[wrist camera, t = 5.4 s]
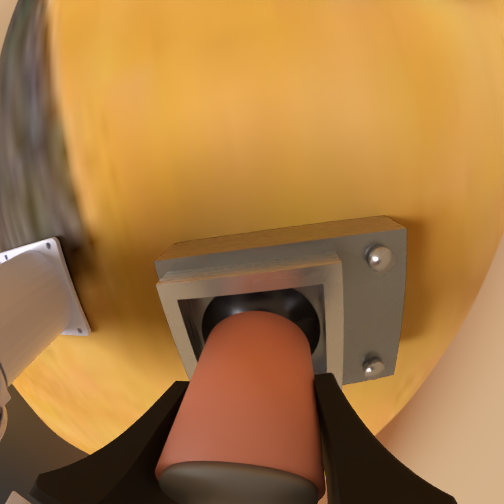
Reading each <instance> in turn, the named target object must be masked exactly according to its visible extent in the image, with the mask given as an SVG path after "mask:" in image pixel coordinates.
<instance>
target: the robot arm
mask: <svg viewBox="0 0 504 504" xmlns="http://www.w3.org/2000/svg"><path fill="white" fill-rule="evenodd" d="M50 245H51V246H50ZM0 262H1V264H0V441H1V439H2V437H3V435H4V432H5V429H6V425H7V412H6V408H5V404H6V403H7V402H8V401H9V400H10V399H11V396H10V395H9V393H8V391H7V389H6V388H7V387H8V386H9V385H10V384H11V383H12V382H13V381H14V380H15V379H16V378H17V377H18V376H19V375H20V374H21V373H22V372H23V370H24V369H25V368H26V367H27V366H28V365H29V364H30V363H31V362H32V361H33V360H34V359H35V358H36V357H37V356H38V355H39V354H40V353H41V352H42V351H43V350H44V349H45V348H46V347H47V346H48V345H49V344H50V343H51V342H52V341H54V340H55V339H56V338H57V337H58V336H59V335H60V334H62V335H78V336H88V335H89V334H90V333H91V329H90V326H89V324H88V322H87V319H86V317H85V315H84V312H83V310H82V307H81V305H80V302H79V300H78V297H77V294H76V292H75V289H74V286H73V283H72V280H71V278H70V275H69V272H68V269H67V266H66V262H65V259H64V256H63V253H62V249H61V246H60V242H59V240H58V239H57V238H56V237H52V238H48V239H45V240H41V241H38V242H34V243H31V244H27V245H24V246H21V247H18V248H14V249H11V250H8V251H5V252H2V253H0ZM189 383H190V381H175V382H174V383H173V384H172V386H171V387H170V388H169V389H168V390H167V391H166V392H165V393H164V394H163V395H162V396H161V397H160V398H159V399H158V400H157V401H156V402H155V403H154V404H153V406H152V407H151V408H150V409H149V410H148V411H147V412H146V413H145V414H144V415H143V416H142V417H140V418H139V419H138V420H137V421H136V422H135V423H134V424H133V425H132V426H130V427H129V428H128V429H127V430H126V431H125V432H124V433H122V434H121V435H120V436H118V437H117V438H116V439H114V440H113V441H112V442H110V443H109V444H107V445H106V446H104V447H103V448H101V449H100V450H98V451H96V452H94V453H93V454H91V455H89V456H87V457H86V458H84V459H81V460H79V461H77V462H75V463H73V464H70V465H68V466H65V467H62V468H60V469H56V470H53V471H50V472H46V473H43V474H39V476H38V478H37V479H36V481H35V483H34V485H33V486H32V488H31V490H30V491H29V493H28V495H29V497H30V498H31V499H33V500H34V501H36V502H37V503H39V504H179V503H177V502H176V501H174V500H173V499H171V498H170V497H168V496H167V495H166V494H165V493H164V492H163V491H162V489H161V488H160V486H159V481H158V480H157V478H156V476H155V469H156V466H157V464H158V461H159V458H160V456H161V453H162V451H163V448H164V446H165V443H166V441H167V438H168V436H169V433H170V431H171V428H172V426H173V423H174V421H175V418H176V416H177V413H178V411H179V408H180V406H181V403H182V401H183V398H184V396H185V393H186V391H187V388H188V386H189ZM314 383H315V391H316V399H317V406H318V413H319V422H320V431H321V441H322V452H323V463H324V471H325V476H326V484H327V496H328V497H327V498H328V504H457V502H456V500H455V498H454V497H453V496H451V495H449V494H447V493H445V492H443V491H441V490H440V489H438V488H436V487H434V486H433V485H431V484H429V483H428V482H426V481H425V480H423V479H422V478H421V477H419V476H418V475H416V474H415V473H414V472H412V471H411V470H410V469H409V468H407V467H406V466H405V465H404V464H402V463H401V462H400V461H399V460H397V459H396V458H395V457H394V456H393V455H392V454H391V453H390V452H389V451H388V450H387V449H386V448H385V447H384V446H383V445H382V444H381V443H380V442H379V441H378V440H377V439H376V438H375V436H374V435H373V434H372V433H371V432H370V430H369V429H368V428H367V427H366V426H365V424H364V423H363V422H362V420H361V419H360V418H359V416H358V415H357V414H356V412H355V411H354V409H353V408H352V406H351V405H350V403H349V402H348V400H347V399H346V397H345V395H344V394H343V392H342V390H341V388H340V387H339V385H338V383H337V381H336V379H335V376H334V374H333V373H331V372H330V373H323V374H316V375H314ZM5 504H31V503H29V502H28V501H27V500H25V499H24V498H23V497H21V496H20V495H19V494H18V493H16V492H15V491H13V492H12V493H11V495H10V497H9V498H8V500H7V502H6V503H5Z"/></svg>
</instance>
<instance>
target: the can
mask: <svg viewBox="0 0 504 504" xmlns="http://www.w3.org/2000/svg"><path fill="white" fill-rule="evenodd" d="M155 476H156V478H157V480H158V481H159V486H160V488H161V489H162V491H163V492H164V493H165V494H166V495H167V496H168V497H170V498H171V499H173V500H174V501H176V502H177V503H179V504H317V503H318V501H319V500H320V499H321V498H322V497H323V496H324V494H325V490H326V489H325V475H324V463H323V452H322V441H321V431H320V422H319V413H318V406H317V399H316V391H315V383H314V373H313V365H312V358H311V351H310V346H309V342H308V340H307V337H306V336H305V334H304V333H303V331H302V330H301V329H300V328H299V327H298V326H297V325H296V324H295V323H293V322H292V321H290V320H289V319H287V318H285V317H283V316H280V315H278V314H274V313H271V312H265V311H246V312H240V313H237V314H234V315H231V316H229V317H227V318H225V319H223V320H222V321H220V322H219V323H218V324H217V325H216V326H215V327H214V328H213V329H212V331H211V332H210V334H209V336H208V339H207V341H206V344H205V346H204V349H203V351H202V353H201V356H200V358H199V361H198V363H197V366H196V368H195V371H194V373H193V376H192V378H191V381H190V383H189V386H188V388H187V391H186V393H185V396H184V398H183V401H182V403H181V406H180V408H179V411H178V413H177V416H176V418H175V421H174V423H173V426H172V428H171V431H170V433H169V436H168V438H167V441H166V443H165V446H164V448H163V451H162V453H161V456H160V458H159V461H158V464H157V466H156V469H155Z"/></svg>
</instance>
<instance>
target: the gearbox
mask: <svg viewBox="0 0 504 504" xmlns="http://www.w3.org/2000/svg"><path fill="white" fill-rule="evenodd" d="M406 260H407V228H405V227H404V226H402V225H400V224H399V223H397V222H395V221H393V220H391V219H390V218H388V217H386V216H375V217H367V218H358V219H350V220H341V221H333V222H325V223H317V224H309V225H302V226H294V227H286V228H279V229H271V230H264V231H257V232H250V233H242V234H235V235H228V236H221V237H215V238H208V239H201V240H194V241H188V242H181V243H175V244H173V245H172V246H171V247H170V248H168V249H167V250H166V251H165V252H164V253H163V254H162V255H160V256H159V257H158V258H157V259H156V260H155V261H154V265H155V269H156V272H157V276H158V279H159V282H158V283H157V284H156V288H157V291H158V294H159V297H160V300H161V304H162V307H163V310H164V313H165V316H166V319H167V322H168V325H169V327H170V330H171V333H172V336H173V339H174V341H175V344H176V347H177V350H178V352H179V355H180V358H181V360H182V363H183V365H184V368H185V370H186V373H187V375H188V378H189V380H190V381H191V378H192V376H193V373H194V371H195V368H196V366H197V363H198V361H199V358H200V356H201V353H202V351H203V349H204V346H205V344H206V341H207V339H208V336H209V334H210V332H211V331H212V329H213V328H214V327H215V326H216V325H217V324H218V323H219V322H220V321H222V320H223V319H225V318H227V317H229V316H231V315H234V314H237V313H240V312H246V311H265V312H271V313H274V314H278V315H280V316H283V317H285V318H287V319H289V320H290V321H292V322H293V323H295V324H296V325H297V326H298V327H299V328H300V329H301V330H302V331H303V333H304V334H305V336H306V337H307V340H308V342H309V346H310V351H311V358H312V365H313V373H314V375H316V374H323V373H330V372H331V373H333V374H334V376H335V379H336V381H337V383H338V385H339V387H340V388H341V390H342V385H346V384H351V383H357V382H362V381H367V380H374V379H377V378H381V377H386V376H390V375H394V370H395V365H396V359H397V353H398V347H399V340H400V333H401V325H402V317H403V307H404V296H405V282H406Z"/></svg>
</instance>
